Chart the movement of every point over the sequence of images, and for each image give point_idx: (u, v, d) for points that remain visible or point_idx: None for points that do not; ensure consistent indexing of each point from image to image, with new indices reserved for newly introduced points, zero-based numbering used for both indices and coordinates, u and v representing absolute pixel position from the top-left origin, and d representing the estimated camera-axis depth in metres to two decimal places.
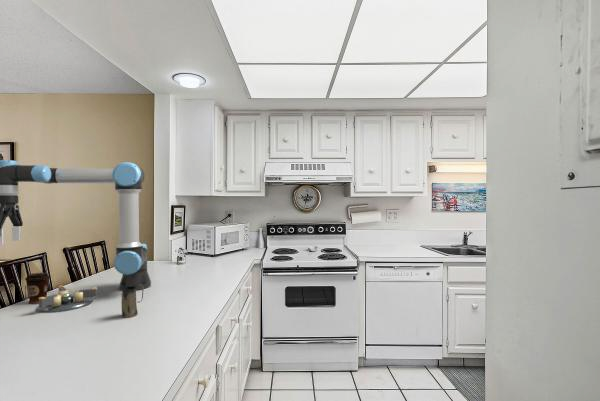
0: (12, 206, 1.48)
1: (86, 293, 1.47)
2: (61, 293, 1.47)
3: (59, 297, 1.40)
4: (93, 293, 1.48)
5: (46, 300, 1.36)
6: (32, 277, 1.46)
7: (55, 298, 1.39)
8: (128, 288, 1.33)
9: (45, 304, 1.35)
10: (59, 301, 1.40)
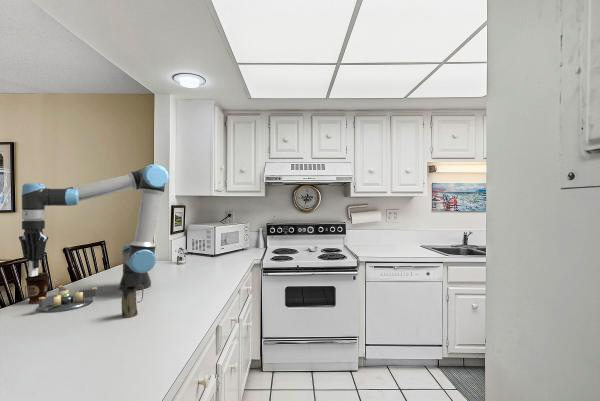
0: None
1: (86, 293, 1.47)
2: (61, 293, 1.47)
3: (59, 297, 1.40)
4: (93, 293, 1.48)
5: (46, 300, 1.36)
6: (32, 277, 1.46)
7: (55, 298, 1.39)
8: (128, 288, 1.33)
9: (45, 304, 1.35)
10: (59, 301, 1.40)
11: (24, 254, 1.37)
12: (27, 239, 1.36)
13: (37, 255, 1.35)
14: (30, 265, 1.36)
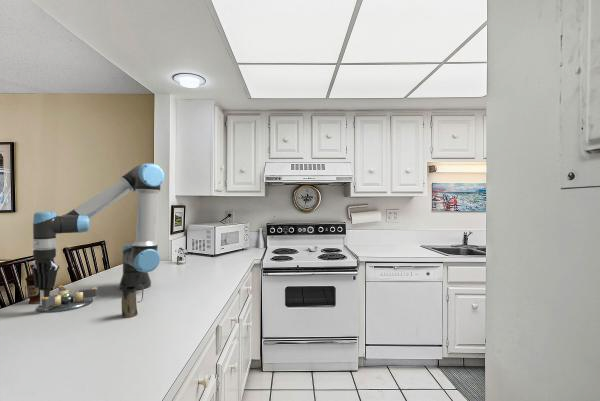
0: None
1: (86, 293, 1.47)
2: (61, 293, 1.47)
3: (60, 297, 1.41)
4: (93, 293, 1.48)
5: (49, 300, 1.36)
6: (32, 277, 1.46)
7: (56, 298, 1.39)
8: (128, 288, 1.33)
9: (48, 304, 1.35)
10: (60, 301, 1.41)
11: (35, 283, 1.36)
12: (38, 268, 1.35)
13: (48, 284, 1.34)
14: (41, 294, 1.35)
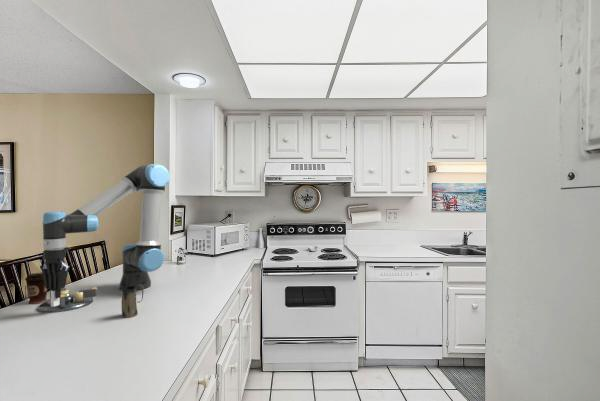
0: None
1: (86, 293, 1.47)
2: (61, 293, 1.47)
3: None
4: (93, 293, 1.48)
5: None
6: (32, 277, 1.46)
7: None
8: (128, 288, 1.33)
9: None
10: None
11: (45, 284, 1.35)
12: (49, 269, 1.34)
13: (59, 285, 1.33)
14: (52, 295, 1.34)
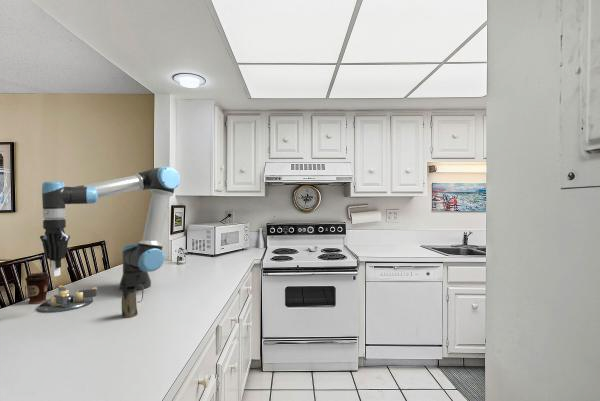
0: None
1: (86, 293, 1.47)
2: (61, 293, 1.47)
3: None
4: (93, 293, 1.48)
5: None
6: (32, 277, 1.46)
7: None
8: (128, 288, 1.33)
9: None
10: None
11: (46, 254, 1.35)
12: (49, 238, 1.34)
13: (59, 255, 1.33)
14: (53, 265, 1.34)
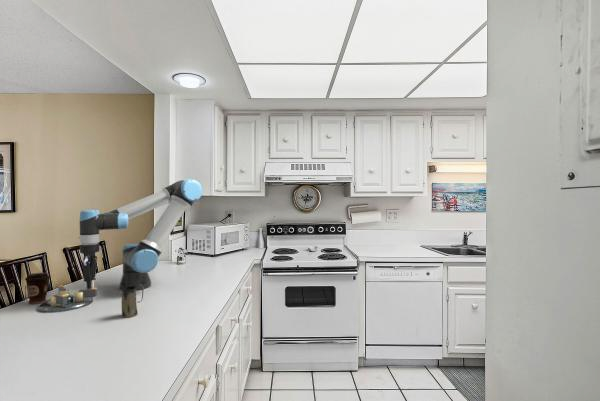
0: None
1: (86, 293, 1.47)
2: (61, 293, 1.47)
3: None
4: (93, 293, 1.47)
5: None
6: (32, 277, 1.46)
7: None
8: (128, 288, 1.33)
9: None
10: None
11: None
12: None
13: None
14: None
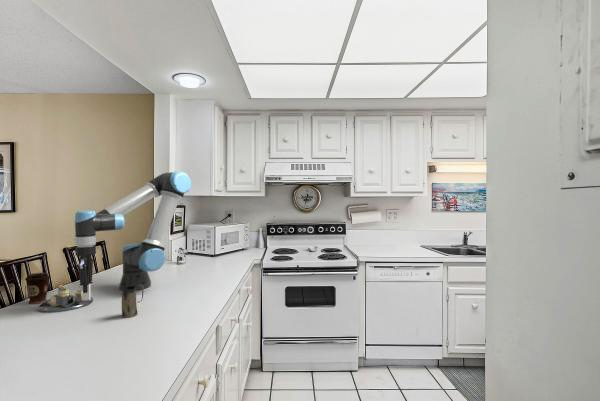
0: (90, 255, 1.46)
1: (77, 295, 1.44)
2: (61, 293, 1.47)
3: None
4: (76, 297, 1.41)
5: None
6: (32, 277, 1.46)
7: None
8: (128, 288, 1.33)
9: None
10: None
11: None
12: None
13: None
14: None
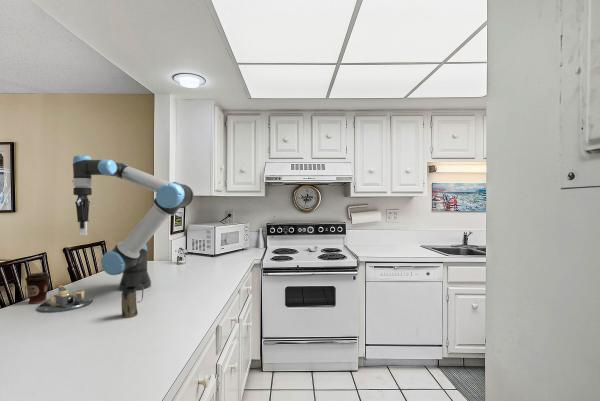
0: (86, 196, 1.63)
1: (77, 295, 1.44)
2: (61, 293, 1.47)
3: None
4: (76, 297, 1.41)
5: None
6: (32, 277, 1.46)
7: None
8: (128, 288, 1.33)
9: None
10: None
11: None
12: None
13: None
14: None
